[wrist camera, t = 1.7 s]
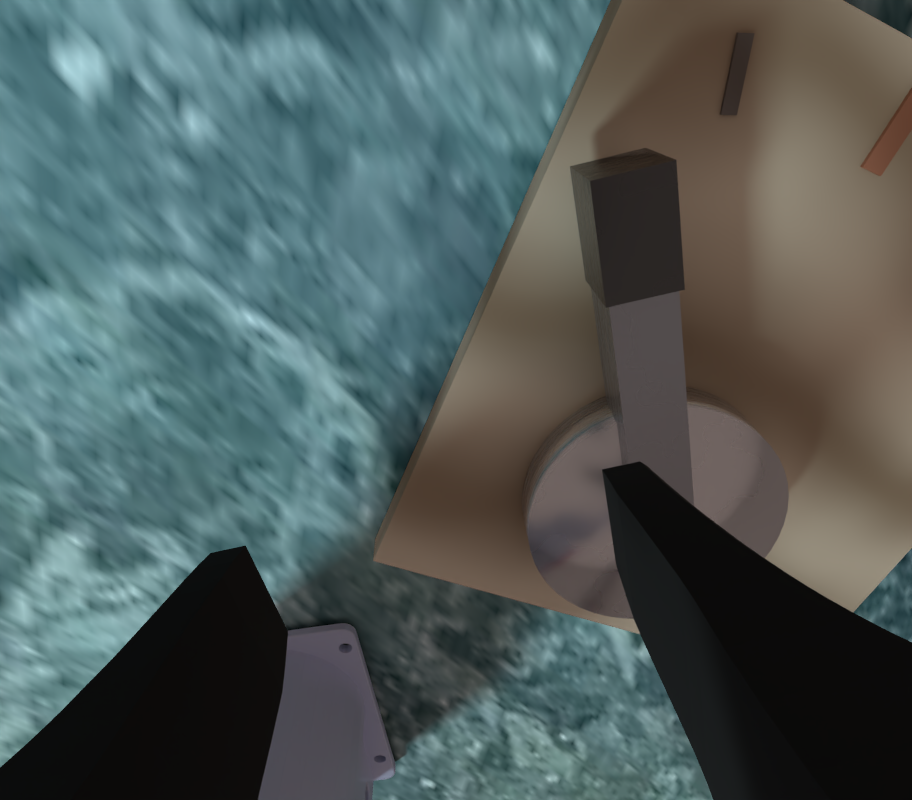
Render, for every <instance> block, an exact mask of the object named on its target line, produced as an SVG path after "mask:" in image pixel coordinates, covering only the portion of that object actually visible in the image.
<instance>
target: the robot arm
mask: <svg viewBox="0 0 912 800" xmlns="http://www.w3.org/2000/svg"><path fill="white" fill-rule="evenodd" d="M602 473H603V480H604V486H605V493H606V500H607V507H608V513H609V520H610V527H611V534H612V541H613V547H614V554H615V561H616V566H617V569H618V572H619V575H620V579H621V582H622V585H623V588H624V591H625V594H626V597H627V600H628V603H629V606H630V609H631V612H632V615H633V618H634V621H635V623H636V625H637V628H638V630H639V632H640V634H641V637H642V639H643V641H644V643H645V645H646V648H647V650H648V652H649V654H650V656H651V659H652V661H653V663H654V665H655V667H656V670H657V672H658V674H659V676H660V678H661V680H662V683H663V685H664V687H665V689H666V691H667V693H668V696H669V698H670V700H671V702H672V704H673V707H674V709H675V711H676V713H677V715H678V717H679V720H680V722H681V724H682V726H683V728H684V730H685V733H686V735H687V737H688V739H689V741H690V744H691V746H692V748H693V750H694V752H695V755H696V757H697V759H698V762H699V764H700V767H701V769H702V771H703V774H704V776H705V779H706V781H707V784H708V786H709V789H710V792H711V794H712V797H713V800H912V642H910V641H908V640H906V639H903V638H901V637H899V636H897V635H895V634H893V633H891V632H889V631H887V630H885V629H883V628H881V627H879V626H877V625H875V624H873V623H872V622H870V621H868V620H866V619H864V618H862V617H860V616H858V615H856V614H855V613H853V612H851V611H849V610H848V609H846V608H844V607H842V606H841V605H839V604H837V603H835V602H833V601H832V600H830V599H828V598H826V597H825V596H823V595H821V594H820V593H818V592H816V591H815V590H813V589H811V588H810V587H808V586H806V585H805V584H803V583H802V582H800V581H798V580H797V579H795V578H794V577H792V576H791V575H789V574H787V573H786V572H784V571H783V570H781V569H780V568H778V567H777V566H775V565H774V564H772V563H771V562H769V561H768V560H766V559H765V558H763V557H762V556H760V555H759V554H758V553H756V552H755V551H753V550H752V549H750V548H749V547H748V546H746V545H745V544H743V543H742V542H741V541H739V540H738V539H736V538H735V537H734V536H732V535H731V534H730V533H728V532H727V531H726V530H724V529H723V528H722V527H720V526H719V525H718V524H716V523H715V522H714V521H712V520H711V519H710V518H708V517H707V516H706V515H705V514H703V513H702V512H701V511H700V510H698V509H697V508H696V507H695V506H693V505H692V504H691V503H690V502H689V501H687V500H686V499H685V498H684V497H682V496H681V495H680V494H679V493H678V492H676V491H675V490H674V489H673V488H672V487H671V486H669V485H668V484H667V483H666V482H665V481H664V480H662V479H661V478H660V477H659V476H658V475H657V474H656V473H655V472H653V471H652V470H651V469H650V468H649V467H648V466H646V465H645V464H643V463H642V462H640V461H639V462H635V463H630V464H625V465H620V466H616V467H611V468H606V469H602ZM344 644H349V645H344ZM394 774H395V761H394V757H393V754H392V750H391V747H390V744H389V740H388V737H387V733H386V730H385V727H384V723H383V720H382V717H381V713H380V710H379V706H378V703H377V700H376V696H375V693H374V689H373V686H372V683H371V679H370V676H369V672H368V669H367V666H366V662H365V659H364V655H363V652H362V649H361V645H360V642H359V639H358V635H357V632H356V630H355V628H354V627H353V626H352V625H350V624H347V623H339V624H332V625H324V626H317V627H310V628H302V629H295V630H288V631H287V629H286V627H285V625H284V623H283V621H282V619H281V616H280V614H279V612H278V610H277V608H276V606H275V604H274V602H273V600H272V598H271V596H270V594H269V592H268V590H267V588H266V586H265V584H264V582H263V580H262V578H261V576H260V574H259V572H258V570H257V568H256V566H255V564H254V562H253V560H252V558H251V556H250V554H249V552H248V550H247V548H246V546H242V547H237V548H232V549H228V550H223V551H218V552H214V553H210V554H209V555H208V556H207V557H206V558H205V559H204V560H203V561H202V562H201V563H200V564H199V565H198V566H197V567H196V568H195V569H194V570H193V571H192V573H191V574H190V575H189V576H188V577H187V578H186V579H185V580H184V581H183V582H182V583H181V584H180V585H179V587H178V588H177V589H176V590H175V591H174V592H173V593H172V594H171V595H170V597H169V598H168V599H167V600H166V601H165V602H164V603H163V604H162V605H161V606H160V608H159V609H158V610H157V611H156V612H155V613H154V614H153V615H152V616H151V617H150V619H149V620H148V621H147V622H146V623H145V624H144V625H143V626H142V627H141V628H140V630H139V631H138V632H137V633H136V634H135V635H134V636H133V637H132V638H131V639H130V640H129V642H128V643H127V644H126V645H125V646H124V647H123V648H122V649H121V650H120V651H119V652H118V653H117V655H116V656H115V657H114V658H113V659H112V660H111V661H110V662H109V663H108V664H107V665H106V666H105V667H104V668H103V669H102V670H101V671H100V672H99V673H98V674H97V675H96V676H95V677H94V678H93V679H92V680H91V681H90V682H89V683H88V684H87V685H86V686H85V687H84V688H83V689H82V690H81V691H80V692H79V694H78V695H77V696H76V697H75V698H74V699H73V700H72V701H71V702H70V703H69V704H68V705H67V706H66V707H65V708H64V709H63V710H62V711H61V712H60V713H59V714H58V715H57V716H56V717H55V718H54V719H53V720H52V721H51V722H50V723H49V724H47V725H46V726H45V727H44V728H43V729H42V730H41V731H40V732H39V733H38V734H37V735H36V736H35V737H34V738H33V739H32V740H30V741H29V742H28V743H27V744H26V745H25V746H24V747H23V748H22V749H21V750H19V751H18V752H17V753H16V754H15V755H14V756H13V757H12V758H11V759H9V760H8V761H7V762H6V763H5V764H4V765H3V766H2V767H0V800H372V795H373V781H374V780H382V779H388V778H391V777H392V776H393V775H394Z"/></svg>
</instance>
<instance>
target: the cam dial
mask: <svg viewBox="0 0 912 800" xmlns="http://www.w3.org/2000/svg"><path fill="white" fill-rule="evenodd" d="M570 172H571V179H572V186H573V194H574V201H575V208H576V215H577V222H578V230H579V237H580V244H581V251H582V258H583V265H584V273H585V280H586V282H587V283H588V284H589V286H590V287H591V291H592V298H593V306H594V313H595V321H596V328H597V335H598V343H599V350H600V357H601V365H602V372H603V379H604V387H605V394H606V396H604V397H602V398H599V399H597V400H595V401H593V402H591V403H589V404H588V405H586V406H584V407H582V408H581V409H579V410H578V411H576V412H575V413H573V414H572V415H570V416H569V417H568V418H566V419H565V420H564V421H563V422H562V423H561V424H560V425H558V426H557V427H556V428H555V429H554V430H553V431H552V432H551V434H550V435H549V436H548V437H547V438H546V439H545V440H544V442H543V443H542V445H541V446H540V447H539V449H538V450H537V452H536V453H535V455H534V457H533V459H532V461H531V463H530V465H529V467H528V470H527V473H526V476H525V479H524V484H523V490H522V512H523V519H524V523H525V528H526V532H527V537H528V542H529V546H530V551H531V554H532V557H533V560H534V563H535V565H536V567H537V569H538V571H539V573H540V574H541V576H542V577H543V578H544V580H545V581H546V583H547V584H548V585H549V586H550V587H551V588H552V589H553V590H554V591H555V592H556V593H557V594H559V595H560V596H561V597H563V598H564V599H566V600H567V601H568V602H570V603H572V604H574V605H576V606H578V607H580V608H582V609H585V610H587V611H590V612H593V613H596V614H600V615H604V616H609V617H616V618H626V619H634V618H633V615H632V612H631V609H630V606H629V603H628V600H627V597H626V594H625V591H624V588H623V585H622V582H621V579H620V575H619V572H618V569H617V566H616V561H615V554H614V547H613V541H612V534H611V527H610V520H609V513H608V507H607V500H606V493H605V486H604V480H603V473H602V469H606V468H611V467H616V466H620V465H625V464H630V463H635V462H639V461H640V462H642V463H643V464H645V465H646V466H648V467H649V468H650V469H651V470H652V471H653V472H655V473H656V474H657V475H658V476H659V477H660V478H661V479H662V480H664V481H665V482H666V483H667V484H668V485H669V486H671V487H672V488H673V489H674V490H675V491H676V492H678V493H679V494H680V495H681V496H682V497H684V498H685V499H686V500H687V501H689V502H690V503H691V504H692V505H693V506H695V507H696V508H697V509H698V510H700V511H701V512H702V513H703V514H705V515H706V516H707V517H708V518H710V519H711V520H712V521H714V522H715V523H716V524H718V525H719V526H720V527H722V528H723V529H724V530H726V531H727V532H728V533H730V534H731V535H732V536H734V537H735V538H736V539H738V540H739V541H741V542H742V543H743V544H745V545H746V546H748V547H749V548H750V549H752V550H753V551H755V552H756V553H758V554H759V555H760V556H762V557H763V558H765V557H766V556H767V555H768V553H769V552H770V551H771V549H772V548H773V546H774V544H775V542H776V541H777V539H778V537H779V535H780V532H781V530H782V528H783V525H784V522H785V518H786V514H787V510H788V500H789V492H788V482H787V478H786V474H785V470H784V468H783V466H782V463H781V461H780V459H779V457H778V456H777V454H776V453H775V451H774V450H773V448H772V447H771V446H770V445H769V443H768V442H767V441H766V440H765V439H764V438H763V437H762V436H761V435H760V433H759V432H758V431H757V430H756V429H755V428H754V427H753V426H752V425H751V423H750V422H749V421H748V420H747V419H746V418H745V417H744V416H743V415H742V414H741V413H740V412H739V411H738V410H737V409H736V408H734V407H733V406H732V405H730V404H729V403H728V402H726V401H725V400H723V399H721V398H719V397H717V396H715V395H713V394H711V393H708V392H705V391H702V390H699V389H695V388H690V387H686V380H685V366H684V351H683V337H682V322H681V308H680V294H679V291H681V290H685V284H684V269H683V253H682V238H681V222H680V207H679V192H678V176H677V161H676V159H673V158H671V157H668V156H665V155H663V154H660V153H658V152H655V151H653V150H650V149H648V148H642V149H638V150H634V151H630V152H626V153H622V154H618V155H614V156H610V157H606V158H602V159H597V160H593V161H589V162H585V163H581V164H577V165H573V166H570Z"/></svg>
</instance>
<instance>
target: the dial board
mask: <svg viewBox="0 0 912 800" xmlns="http://www.w3.org/2000/svg"><path fill="white" fill-rule="evenodd" d="M642 148H648V149H650V150H653V151H655V152H658V153H660V154H663V155H665V156H668V157H671V158H673V159H676V161H677V176H678V192H679V207H680V222H681V238H682V253H683V269H684V284H685V290H681V291H679V294H680V308H681V322H682V337H683V351H684V366H685V380H686V387H690V388H695V389H699V390H702V391H705V392H708V393H711V394H713V395H715V396H717V397H719V398H721V399H723V400H725V401H726V402H728V403H729V404H730V405H732V406H733V407H734V408H736V409H737V410H738V411H739V412H740V413H741V414H742V415H743V416H744V417H745V418H746V419H747V420H748V421H749V422H750V423H751V425H752V426H753V427H754V428H755V429H756V430H757V431H758V432H759V433H760V435H761V436H762V437H763V438H764V439H765V440H766V441H767V442H768V443H769V445H770V446H771V447H772V448H773V450H774V451H775V453H776V454H777V456H778V457H779V459H780V461H781V463H782V466H783V468H784V470H785V474H786V478H787V482H788V492H789V500H788V510H787V514H786V518H785V522H784V525H783V528H782V530H781V532H780V535H779V537H778V539H777V541H776V542H775V544H774V546H773V548H772V549H771V551H770V552H769V553H768V555H767V556H766V557H765V559H766V560H768V561H769V562H771V563H772V564H774V565H775V566H777V567H778V568H780V569H781V570H783V571H784V572H786V573H787V574H789V575H791V576H792V577H794V578H795V579H797V580H798V581H800V582H802V583H803V584H805V585H806V586H808V587H810V588H811V589H813V590H815V591H816V592H818V593H820V594H821V595H823V596H825V597H826V598H828V599H830V600H832V601H833V602H835V603H837V604H839V605H841V606H842V607H844V608H846V609H848V610H849V611H851V612H854V611H855V610H856V609H857V608H858V606H859V605H860V604H861V603H862V602H863V601H864V600H865V599H866V598H867V597H868V595H869V594H870V593H871V592H872V591H873V590H874V589H875V588H876V587H877V586H878V584H879V583H880V582H881V581H882V580H883V579H884V578H885V577H886V576H887V575H888V573H889V572H890V571H891V570H892V569H893V568H894V567H895V566H896V565H897V564H898V562H899V561H900V560H901V559H902V558H903V557H904V556H905V555H906V554H907V552H908V551H909V550H910V549H911V548H912V38H910V37H908V36H907V35H905V34H903V33H901V32H899V31H898V30H896V29H894V28H892V27H890V26H889V25H887V24H885V23H883V22H881V21H880V20H878V19H876V18H874V17H872V16H870V15H869V14H867V13H865V12H863V11H861V10H860V9H858V8H856V7H854V6H852V5H851V4H849V3H847V2H845V1H843V0H611V1H610V4H609V6H608V8H607V10H606V13H605V15H604V17H603V20H602V22H601V24H600V26H599V29H598V31H597V33H596V36H595V38H594V40H593V42H592V45H591V47H590V49H589V52H588V54H587V56H586V58H585V61H584V63H583V65H582V68H581V70H580V72H579V74H578V77H577V79H576V81H575V84H574V86H573V88H572V90H571V93H570V95H569V97H568V99H567V102H566V104H565V106H564V109H563V111H562V113H561V115H560V118H559V120H558V122H557V125H556V127H555V129H554V131H553V134H552V136H551V138H550V141H549V143H548V145H547V147H546V150H545V152H544V154H543V157H542V159H541V161H540V163H539V166H538V168H537V170H536V173H535V175H534V177H533V179H532V182H531V184H530V186H529V189H528V191H527V193H526V195H525V198H524V200H523V202H522V205H521V207H520V209H519V211H518V214H517V216H516V218H515V221H514V223H513V225H512V227H511V230H510V232H509V234H508V237H507V239H506V241H505V243H504V246H503V248H502V250H501V253H500V255H499V257H498V259H497V262H496V264H495V266H494V269H493V271H492V273H491V275H490V278H489V280H488V282H487V285H486V287H485V289H484V291H483V294H482V296H481V298H480V301H479V303H478V305H477V307H476V310H475V312H474V314H473V317H472V319H471V321H470V323H469V326H468V328H467V330H466V333H465V335H464V337H463V339H462V342H461V344H460V346H459V349H458V351H457V353H456V355H455V358H454V360H453V362H452V365H451V367H450V369H449V371H448V374H447V376H446V378H445V381H444V383H443V385H442V387H441V390H440V392H439V394H438V397H437V399H436V401H435V403H434V406H433V408H432V410H431V413H430V415H429V417H428V419H427V422H426V424H425V426H424V429H423V431H422V433H421V435H420V438H419V440H418V442H417V445H416V447H415V449H414V451H413V454H412V456H411V458H410V460H409V463H408V465H407V467H406V470H405V472H404V474H403V476H402V479H401V481H400V483H399V486H398V488H397V490H396V492H395V495H394V497H393V499H392V502H391V504H390V506H389V508H388V511H387V513H386V515H385V518H384V520H383V522H382V524H381V527H380V529H379V531H378V534H377V536H376V538H375V547H374V557H373V561H375V562H379V563H383V564H386V565H390V566H394V567H397V568H401V569H404V570H408V571H412V572H415V573H419V574H423V575H426V576H430V577H434V578H437V579H441V580H445V581H448V582H452V583H456V584H459V585H463V586H466V587H470V588H474V589H477V590H481V591H485V592H488V593H492V594H496V595H499V596H503V597H507V598H510V599H514V600H517V601H521V602H525V603H528V604H532V605H536V606H539V607H543V608H547V609H550V610H554V611H558V612H561V613H565V614H568V615H572V616H576V617H579V618H583V619H587V620H590V621H594V622H598V623H601V624H605V625H609V626H612V627H616V628H619V629H623V630H627V631H630V632H634V633H638V634H640V632H639V630H638V628H637V625H636V623H635V621H634V619H626V618H616V617H609V616H604V615H600V614H596V613H593V612H590V611H587V610H585V609H582V608H580V607H578V606H576V605H574V604H572V603H570V602H568V601H567V600H566V599H564V598H563V597H561V596H560V595H559V594H557V593H556V592H555V591H554V590H553V589H552V588H551V587H550V586H549V585H548V584H547V583H546V581H545V580H544V578H543V577H542V576H541V574H540V573H539V571H538V569H537V567H536V565H535V563H534V560H533V557H532V554H531V551H530V546H529V542H528V537H527V532H526V528H525V523H524V519H523V512H522V490H523V484H524V479H525V476H526V473H527V470H528V467H529V465H530V463H531V461H532V459H533V457H534V455H535V453H536V452H537V450H538V449H539V447H540V446H541V445H542V443H543V442H544V440H545V439H546V438H547V437H548V436H549V435H550V434H551V432H552V431H553V430H554V429H555V428H556V427H557V426H558V425H560V424H561V423H562V422H563V421H564V420H565V419H566V418H568V417H569V416H570V415H572V414H573V413H575V412H576V411H578V410H579V409H581V408H582V407H584V406H586V405H588V404H589V403H591V402H593V401H595V400H597V399H599V398H602V397H604V396H606V394H605V387H604V379H603V372H602V365H601V357H600V350H599V343H598V335H597V328H596V321H595V313H594V306H593V298H592V291H591V287H590V286H589V284H588V283H587V282H586V280H585V273H584V265H583V258H582V251H581V244H580V237H579V230H578V222H577V215H576V208H575V201H574V194H573V186H572V179H571V172H570V166H573V165H577V164H581V163H585V162H589V161H593V160H597V159H602V158H606V157H610V156H614V155H618V154H622V153H626V152H630V151H634V150H638V149H642Z"/></svg>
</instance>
